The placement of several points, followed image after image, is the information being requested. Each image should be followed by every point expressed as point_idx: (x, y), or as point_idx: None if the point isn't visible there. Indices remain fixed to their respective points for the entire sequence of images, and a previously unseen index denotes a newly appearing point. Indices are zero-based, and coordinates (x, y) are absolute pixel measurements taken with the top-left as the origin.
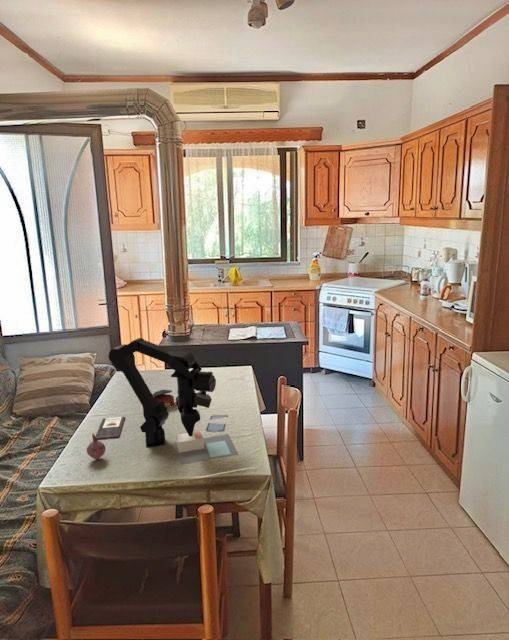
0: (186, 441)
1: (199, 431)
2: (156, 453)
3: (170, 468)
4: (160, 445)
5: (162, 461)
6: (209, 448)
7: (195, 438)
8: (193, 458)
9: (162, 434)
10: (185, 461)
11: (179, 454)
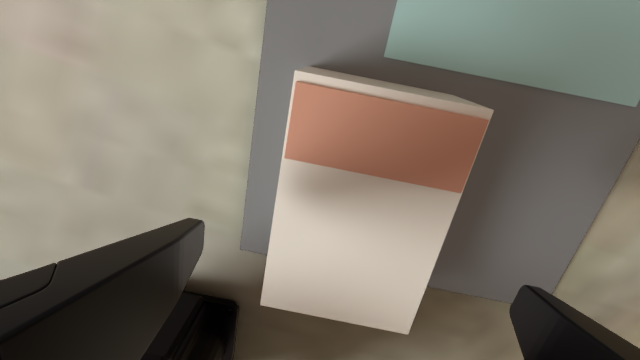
0: (429, 272)
1: (310, 94)
2: (308, 354)
3: (520, 349)
4: (236, 325)
5: (416, 357)
6: (487, 54)
7: (439, 189)
8: (537, 220)
9: (182, 357)
10: (532, 274)
11: None
